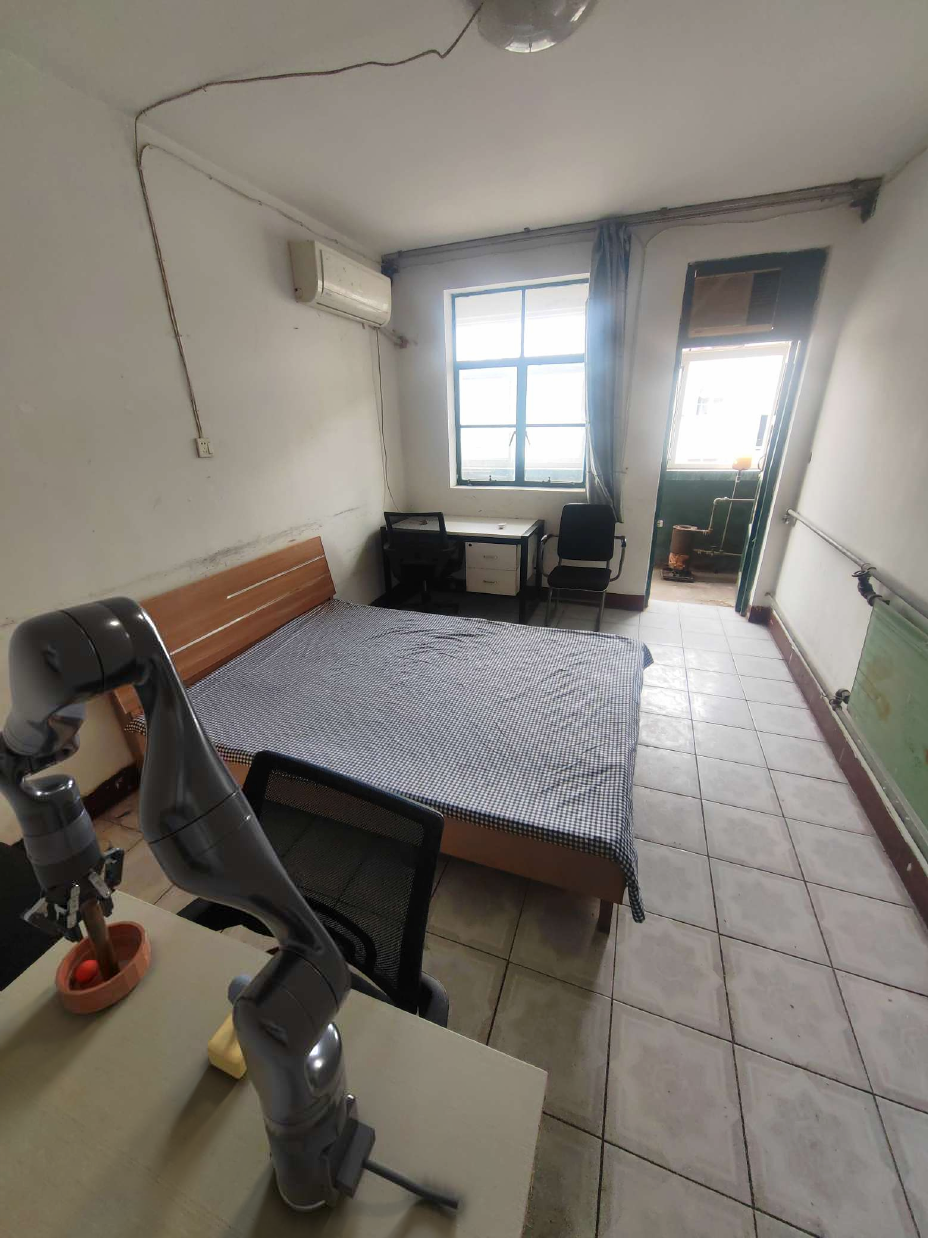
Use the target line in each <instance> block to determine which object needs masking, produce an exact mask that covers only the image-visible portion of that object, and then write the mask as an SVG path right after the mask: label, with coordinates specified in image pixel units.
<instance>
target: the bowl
mask: <svg viewBox="0 0 928 1238" xmlns="http://www.w3.org/2000/svg"><path fill="white" fill-rule="evenodd" d="M106 926H107V929H108V932H109V935H110V938H111V942H112V945H113V948H114V951H115V954H116V957H117V961H118V964H119V967H120V973H118V974H117V975H116V976H114V977H113V978H111V979H110V980H109V981H107V982H104V981H103V979H102V976H101V973H100V970H99V968H98V972H97V974H96V975H95V976H94V977H93V978H92V979H91V980H89V981H87V982H79V981H77V979H76V977H75V974H76V971H77V969H78V967H79V966H80V965H81V964H82V963H83V962H85V961H87V960H95V961H96V958H95V955H94V952H93V949H92V946H91V943H90V940H89V937H88V935H86V936H83V937H84V939H83V940H81V941H80V942H79V943H77V942H76V944H75V945H74V946H73V947H72V948H70V950H69V951H68V952H67V953H66V955H65V956H63V958H62V959H61V962H60V963H59V965H58V967H57V969H56V972H55V979H54V984H55V986H56V988H57V992H58V993H59V996H60V998H61V1000H62V1003H63V1005H64V1008H65V1009H66V1010H67V1011H69V1012H71V1013H72V1014H82V1015H83V1014H91V1013H94V1012H98V1011H102V1010H103V1009H106V1008H108V1007H109V1006H111V1005H113V1004H115V1003H117V1002H118V1001H119V1000H120V999H122V998H123V997H125V996H126V995H127V994H128V993H130V992H131V991H132V989H134V987H136V986H137V984H139V982H140V981H141V980H142V978H143V977H144V975H145V974H146V973H147V971H148V969H149V966H150V963H151V959H152V948H151V945H150V942H149V938H148V935H147V931H146V930H145V928H144V926H143V925H142V924H141V923H138V922H136V921H133V920H121V921H117V922H111V923H109V924H106ZM96 962H97V961H96Z"/></svg>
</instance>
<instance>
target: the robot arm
mask: <svg viewBox="0 0 928 1238" xmlns="http://www.w3.org/2000/svg"><path fill="white" fill-rule="evenodd" d="M7 659H8V661H7V662H8V680H9V690H10V691H9V692H10V700H11V708H10V711H9V713H8V715H7V717H6V719H5V722H4V725H3V726H2V730H1V731H0V794H1V795H2V796H3V797H4V799H5V800H6V801H7V803H8V804H9V806H10V807H11V810H13V813H14V815H15V817H16V820H17V823H18V825H19V828H20V830H21V833H22V838H23V845H24V848H25V851H26V856H27V858H28V860H29V861H30V864H31V866H32V869H33V871H34V874H35V876H36V879H37V881H38V883H39V886H40V888H41V889H40V890H41V891H40V894H39V898H40V899H39V900H37V902H36V903H35V904H34V905H33V906H32V908H26V909H24V910H22V912H21V913H20V915H19V916H20V919H22V920H24V921H26V922H27V923H29V924H30V925H32V926H34V927H36V928H38V929H39V930H41V931H42V932H44V933H46V934H49V935H51V936H53V937H57V936H59V935H60V934H61V933H62V935H63V937H64V940H66V941H68V942H71V943H72V944H75V943H76V944H77V943H79V942H80V941H81V940H83V939H84V937H85V936H84V935H83V932H82V929H81V926H80V923H79V922H78V921H77V912H78V911H80V907H79V906H80V905H79V904H80V900H81V899H82V898H83V897H84V896H85V895H86V894H88V893H90V892H92V893H93V894H94V895H95V896H93V899H98V900H99V903H100V906H101V910H102V913H103V916H104V918H107V919H108V918H109V917H110V916H111V915H113V911H112V910H114V906H115V904H114V902H113V899H112V890H113V889H114V888H115V887H118V886H119V885H121V884H122V881H123V871H124V870H123V869H124V861H125V850H124V849H122V848H121V847H117V846H113V845H111V846H109V847H108V848H107V849H106V851H104V852H102V850H101V847H100V844H99V841H98V837H97V834H96V831H95V828H94V825H93V822H92V819H91V816H90V814H89V812H88V811H87V809H86V807H85V804H84V801H83V798H82V794H81V791H80V789H79V786H78V784H77V783H78V782H77V781H76V779H75V778H74V777H73V776H72V775H70V774H67V773H53V774H48V775H44V776H40V777H37V778H32V779H27V778H29V777H32V776H35V775H36V774H38V773H40V772H42V771H45V770H47V769H49V768H51V767H54V766H56V765H58V764H60V763H62V762H64V761H66V760H69V759H70V758H71V757H72V756H74V755H75V754H76V753H77V752H78V751H79V749H80V746H81V740H80V735H79V733H78V732H79V730H80V729H81V728H82V725H83V724H84V722H85V719H86V716H87V704H86V703H87V702H90V701H93V700H95V699H98V698H100V697H102V696H104V695H107V694H109V693H112V692H115V691H118V690H119V689H122V688H124V687H127V686H131V687H132V689H133V690H134V692H135V695H136V697H137V700H138V702H139V704H140V707H141V711H142V714H143V718H144V722H145V749H144V750H145V751H144V759H143V764H142V765H143V766H142V772H141V777H140V784H139V792H138V800H137V824H138V827H139V830H140V833H141V835H142V837H143V839H144V841H145V843H147V846H148V847H149V849H150V851H151V853H152V854H153V857H155V860H156V861H157V863H158V864H159V866H160V868H161V869H162V871H163V873H164V874H165V876H166V878H167V880H168V881H169V882H170V883H171V884H172V885H173V886H175V887H176V888H177V889H178V890H181V891H183V892H184V893H186V894H189V895H192V896H194V897H197V898H200V899H203V900H206V901H210V902H213V903H217V904H221V905H224V906H228V907H232V908H234V909H237V910H240V911H243V912H245V913H247V914H250V915H252V916H253V917H255V918H257V919H258V920H259V921H261V922H262V923H263V924H264V925H265V926H266V927H267V928H268V930H269V931H270V932H271V934H272V935H273V936H274V938H275V941H276V942H277V944H278V949H277V951H276V952H275V953H274V954H273V955H272V956H271V958H270V959H269V960H268V961H267V962H266V964H265V965H264V966H263V967H262V968H261V969H260V970H259V971H258V972H257V974H256V975H255V976H254V977H253V978H252V979H253V980H252V981H251V982H250V983H249V984H248V985H247V987H246V988H245V989H244V990H243V991H242V992H241V993H240V995H239V996H238V997H237V999H236V1001H235V1003H234V1006H233V1005H232V1010H231V1013H232V1023H233V1028H234V1032H235V1035H236V1038H237V1041H238V1043H239V1046H240V1049H241V1052H242V1055H243V1058H244V1061H245V1064H246V1068H247V1070H246V1071H247V1074H248V1076H249V1080H250V1081H251V1084H252V1086H253V1088H254V1090H255V1092H256V1094H257V1097H258V1100H259V1105H260V1110H261V1113H262V1114H261V1115H262V1118H263V1122H264V1128H265V1132H266V1136H267V1141H268V1144H269V1145H268V1146H269V1150H270V1151H269V1159H272V1162H273V1167H274V1170H275V1178H276V1183H277V1188H278V1191H279V1194H280V1196H281V1199H283V1201H284V1202H285V1204H286V1205H287V1206H288V1207H289V1208H291V1209H293V1210H294V1211H298V1212H302V1213H306V1212H307V1213H308V1212H313V1211H316V1210H318V1209H320V1208H322V1207H324V1206H328V1207H330V1208H331V1209H332V1208H335V1206H336V1205H337V1203H338V1200H339V1197H340V1195H341V1194H344V1195H346V1196H347V1197H349V1198H351V1199H354V1197H355V1194H356V1192H357V1189H358V1186H359V1185H360V1181H361V1178H362V1176H363V1173H364V1171H365V1170H367V1171H369V1172H371V1173H373V1174H374V1175H376V1176H379V1177H380V1178H382V1179H385V1180H387V1181H389V1182H391V1183H392V1184H395V1185H397V1186H398V1187H400V1188H402V1189H404V1190H406V1191H408V1192H409V1193H412V1194H413V1195H416V1196H418V1197H421V1198H424V1199H425V1200H428V1201H431V1202H434V1203H436V1204H439V1205H442V1206H445V1207H448V1208H451V1209H454V1210H458V1208H459V1201H460V1200H459V1198H457V1197H454V1196H451V1195H448V1194H446V1193H442V1192H440V1191H436V1190H433V1189H431V1188H428V1187H426V1186H423V1185H421V1184H419V1183H417V1182H414V1181H413V1180H411V1179H409V1178H407V1177H405V1176H403V1175H402V1174H399V1173H398V1172H395V1171H394V1170H392V1169H390V1168H387V1167H385V1166H384V1165H382V1164H379V1163H377V1162H375V1161H373V1160H372V1159H369V1158H370V1156H371V1153H372V1150H373V1148H374V1145H375V1142H376V1130H375V1128H374V1127H371V1126H370V1125H367V1123H364V1122H362V1121H360V1120H359V1113H358V1104H357V1097H356V1096H355V1095H354V1094H351V1093H350V1092H349V1087H348V1078H347V1072H346V1063H345V1055H344V1046H343V1045H344V1044H343V1039H342V1036H341V1032H340V1030H339V1028H338V1026H337V1025H336V1024H335V1022H334V1020H335V1018H336V1016H337V1015H338V1013H339V1012H340V1010H341V1009H342V1007H343V1006H344V1004H345V1003H346V1001H347V999H348V997H349V995H350V992H351V990H352V983H353V981H352V974H351V971H350V968H349V965H348V963H347V960H346V959H345V956H344V954H343V953H342V951H341V949H340V947H339V946H338V944H337V943H336V942H335V940H334V939H333V937H332V936H331V934H330V933H329V931H328V930H327V928H326V927H325V926H324V925H323V923H322V921H321V920H320V918H319V917H318V916H317V915H316V913H315V912H314V910H313V909H312V907H311V906H310V904H309V903H308V902H307V900H306V898H305V897H304V896H303V895H302V893H301V892H300V890H299V889H298V887H297V886H296V885H295V883H294V881H293V880H292V878H291V877H290V875H289V874H288V872H287V870H286V868H285V867H284V865H283V864H282V861H281V860H280V858H279V857H278V855H277V853H276V851H275V850H274V847H273V846H272V844H271V843H270V840H269V839H268V837H267V835H266V833H265V831H264V830H263V828H262V826H261V824H260V822H259V820H258V817H257V815H256V814H255V812H254V810H253V808H252V806H251V804H250V803H249V801H248V799H247V797H246V795H245V794H244V792H243V791H242V789H241V787H240V786H239V783H238V781H237V780H236V779H235V777H234V775H233V774H232V772H231V771H230V769H229V768H228V765H227V764H226V763H225V761H224V759H223V758H222V756H221V755H220V753H219V751H218V749H217V747H216V746H215V744H214V742H213V740H212V739H211V736H210V735H209V733H208V732H207V730H206V728H205V726H204V724H203V722H202V720H201V719H200V716H199V714H198V712H197V711H196V709H195V705H193V702H192V700H191V697H190V696H189V693H188V691H187V688H186V686H185V685H184V682H183V680H182V677H181V675H180V674H179V671H178V668H177V666H176V664H175V662H174V660H173V657H172V655H171V653H170V651H169V649H168V647H167V644H166V643H165V640H164V638H163V636H162V634H161V632H160V630H159V628H158V626H157V625H156V623H155V621H154V620H153V618H152V617H151V616H150V614H149V613H148V612H147V611H146V609H145V608H144V607H143V606H142V605H141V604H139V603H138V602H137V601H136V600H134V599H132V598H130V597H127V596H113V597H107V598H104V599H103V598H102V599H97V600H93V601H89V602H86V603H81V604H77V605H74V606H69V607H64V608H61V609H57V610H53V611H48V612H45V613H41V614H38V615H35V616H31V617H29V618H27V619H25V620H23V621H22V622H21V623H19V624H18V625H17V626H16V627H15V628H14V630H13V631H12V633H11V636H10V639H9V643H8V652H7ZM103 870H104V875H103V878H102V877H101V875H102V872H103ZM49 904H51V905H54V910H55V912H56V919H55V920H53V921H52V920H51V919H50V918H48V917H49V913H48V912H49V910H48V909H47V908H48V905H49Z"/></svg>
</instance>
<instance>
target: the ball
mask: <svg viewBox="0 0 928 1238" xmlns="http://www.w3.org/2000/svg"><path fill="white" fill-rule="evenodd" d="M98 968H99V967H98V964H97V962H96V961H95V960H87V961H85V962H83V963H82V964H81V965H80V966H79V967H78V969H77V971H76V974H75V977H76V979H77V981H79V982H87V981H89V980H91V979H92V978H93V977H94V976H95V975H96V974H97V972H98Z"/></svg>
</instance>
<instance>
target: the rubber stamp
mask: <svg viewBox="0 0 928 1238" xmlns="http://www.w3.org/2000/svg"><path fill="white" fill-rule="evenodd" d="M252 980H253V978H252V977H251V976H250V975H249V974H248V973H247V974H246V973H241V974H238V975H237V976H235V977H234V978H233V979H232V980H231V981H230V983H229V985H228V987H227V998H228V1002H229V1003H230V1004H231V1005H232V1007H233V1006H234V1003H235V1001H236V999H237V997H238V996H239V995H240V993H241V992H242V991H243V990H244V989H245V988H246V987H247V985H248V984H249V983H250V982H251V981H252ZM206 1050H207V1054H208V1058H209V1061H210V1064H211V1065H212V1066H214V1067H217V1068H218V1069H220V1070H221V1071H223V1072H225V1073H226V1074H228V1075H230V1076H232V1077H233V1078H236V1079H238V1080H240V1078H242V1077H243V1075H244V1074H245V1073H246V1071H247V1068H246V1064H245V1061H244V1058H243V1055H242V1052H241V1049H240V1046H239V1043H238V1041H237V1038H236V1035H235V1032H234V1028H233V1023H232V1012H231V1013H230V1014H229V1015H228V1016H227V1018H226V1020H224V1022H223V1024H222V1025H221V1026H220V1027H219V1029H218V1030H217V1032H216V1033H215V1034H214V1035H213V1036H212V1038H211V1040H210V1041H209V1042H208V1044H207V1045H206Z"/></svg>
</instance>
